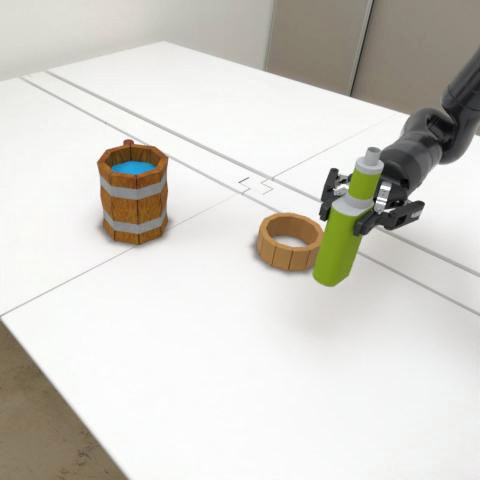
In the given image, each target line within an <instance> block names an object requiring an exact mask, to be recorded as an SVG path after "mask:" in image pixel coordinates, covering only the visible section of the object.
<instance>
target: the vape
mask: <svg viewBox="0 0 480 480" xmlns="http://www.w3.org/2000/svg"><path fill="white" fill-rule="evenodd" d="M381 151H382V149H381V148H379V147H377V146H369V147H367V148H366V151H365V155H364V156H360V157H358V158H356V160H355V163H354V168H353V171H352V173H353V174H352V178H351V181H350V184H349V188H348V190H347V192H346V194H345V195H344V196H342V197H340V198H339V199H337V200H335V201H334V202H333V203H332V206H331V209H330V213H329V216H328V220H327V221H326V224H325V227H324V230H323V232H324V234H323V238H322V241H321V245H320V248H319V252H318V255H317V259H316V263H315V265H314V266H313V269H312V274H311V276H312V278H313V280H314V281H315V282H316V283H317V284H320V285H321V286H323V287H327V288H334V287H336V286H337V285H338V284H340V283H341V282H343V281H344V280H345V279H347V278H348V277H349V276H350V274H351V272H352V268H353V265H354V262H355V259H356V257H357V254H358V251H359V249H360V245H361V243H362V240H363V237H364V235H360V236H359V237H357V236H354V235H353V232H354V229H355V226H356V223H357V222H358V221H359V220H360V219H361V218H362V217H363V216H364V215H365V214H366V213H367V212H368V211H369V210H371V211H373V210H372V209H373V206H374V201H373V196H374V192H375V189H376V187H377V184H378V181H379V178H380V175H381V172H382V170H383V167H384V164H383V162H382V161H381V160H379V157H380V154H381Z"/></svg>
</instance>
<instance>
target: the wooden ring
mask: <svg viewBox="0 0 480 480" xmlns="http://www.w3.org/2000/svg"><path fill="white" fill-rule="evenodd" d="M323 234H324V230H323V228H322V227H321V225H320V224H319V223H318V222H317V221H315V220H313V219H312V218H310V217H309V216H306V215H302V214H299V213H295V212H276V213H273V214H271V215H268V216H266V217H264V218H263V220H262V221H261V223H260V225H259V227H258V234H257V240H256V250H257V254H258V255H259V258H260V259H261V260H263V261H264V262H265V263H266V264H268V265H269V266H271V267H273V268H276V269H280V270H283V271H287V272H297V271H306V270H308V269H310V268H312V267H314V266H315V263H316V259H317V255H318V252H319V248H320V245H321V241H322V238H323ZM278 236H280V237H281V236H288V237H292V238H296V239H298V240H300V241H302V242H304V243H305V244H306V246H291V245H288V244H284V243H280V242H279V241H277V240H275V239H274V237H278Z"/></svg>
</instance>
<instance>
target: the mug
mask: <svg viewBox="0 0 480 480" xmlns="http://www.w3.org/2000/svg"><path fill="white" fill-rule="evenodd" d="M96 165H97V171H98V174H99V175H98V176H99V184H100V185H99V186H100V187H99V189H100V191H99V197H100V202H101V206H102V214H103V222H102V223H103V224H102V225H103V226H102V227H103V229H104V230H105V231H106V233H107V234H108V235H109V237H111V239H112V240H113V241H114V242H119V243H126V244H132V245H139V246H140V245H142V244H145V243H148V242H151V241H153V240H156V239H159V238H162V237H163V235H164V234H165V233H164V232H165V231H166V228H167V226H168V223H169V218H168V197H169V185H168V166H169V156H168V155H166V154H165V153H164V152H163V151H162V150H160V149H159V148H158V147H157V146H155V145H148V144H147V145H146V144H139V143H137V144H136V143H135V141H134V140H133V139H131V138H126V139H124V140H123V141H122V145H119V146H114V147H111V148H107V149H105V150H104V152H103V153H102V154H101V156H100V157H99V159H98V160H97V161H96Z"/></svg>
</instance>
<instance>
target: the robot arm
mask: <svg viewBox="0 0 480 480" xmlns="http://www.w3.org/2000/svg"><path fill="white" fill-rule="evenodd" d="M440 105H441V107H442V109H443V110H444V111H443V110H441V109H440V108H437V107H435V106H429V105H427V106H422V107H420V108H418V109H416V110H415V111H413V112H412V113H411V114H410V116H408V118H406V121H405V122H404V124H403V126H402V128H401V130H400V132H399V136H398V138H397V140H395V141H394V142H392V143H391V144H389V145H387V146H386V147H384V148H383V149H381V154H380V157H379V160H381V161H382V162H383V164H384V167H383V170H382V172H381V175H380V178H379V181H378V184H377V187H376V189H375V192H374V196H373V201H374V206H373V209H372V211H371V210H369V211H368V212H367V213H366V214H365V215H364V216H363V217H362V218H361V219H360V220H359V221H358V222H357V223H356V226H355V229H354V232H353V235H354V236H357V237H359V236H360V235H363V236H367V235H369V234H370V233H371V231H373V230H374V228H377V227H379V226H382V227H383V229H384V230H386V231H389V232H392V231H394V230H397V229H399V228H402V227H405V226H407V225H410V224H412V223H415V222H416V221H419V219H420V217H421V215H422V213H423V210H424V208H425V206H426V203H425V202H424V201H423V200H419V199H418V200H414V201H412V200H410V199H409V196H411V195H412V194H413V193H414V192H415V190H416V189H419V188H420V187H421V185H422V184H423V182H424V181H425V180H426V178H427V176H428V175H429V174H430V173H431V171H433V170H434V169H435V168H436V166H438V165H440V166H448V165H450V164H453V163H455V162H457V161H458V160H460V159H461V158H462V157H463V156H464V155H465V153H466V152H467V151H468V149H469V147H470V145H471V144H472V142H473V140H474V138H475V136H476V133H477V130H478V129H479V127H480V44H479V45H478V46H477V47H476V49H475V50H474V52H473V53H472V54H471V56H470V57H469V58H468V60H467V61H465V63H464V64H463V66H462V67H461V68H460V69H459V71H458V72H457V73H456V74H455V76H454V77H453V78H452V79H451V81H450V82H449V83H448V85H447V86H446V87H445V89H444V90H443V92H441V95H440ZM339 172H340V169H339V168H336V167H331V168H330V169H329V171H328V174H327V177H326V179H325V182H324V185H323V187H322V192H321V195H320V199H319V200H320V201H321V204H320V207H319V212H318V216H319V220H320V221H322V222H324V223H325V222H327V220H328V216H329V213H330V209H331V206H332V203H333V202H334V201H335V200H337V199H339V198H340V197H342V196H344V195H345V194H346V192H347V190H348V188H349V184H350V181H351V178H352V174H353V172H352V173H349V174H348V175H347V174H340V173H339ZM342 185H344V186H343V187H341V186H342ZM338 187H341V188H338ZM385 210H386V211H385ZM388 210H389V211H388Z"/></svg>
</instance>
